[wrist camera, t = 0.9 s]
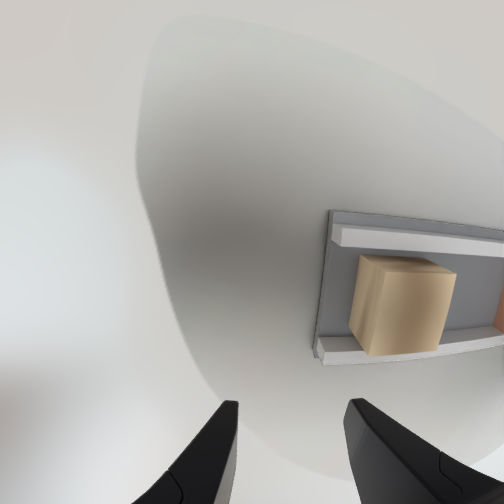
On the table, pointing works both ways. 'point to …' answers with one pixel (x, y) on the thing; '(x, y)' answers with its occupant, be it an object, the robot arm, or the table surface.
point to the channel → (412, 245)
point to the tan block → (400, 304)
